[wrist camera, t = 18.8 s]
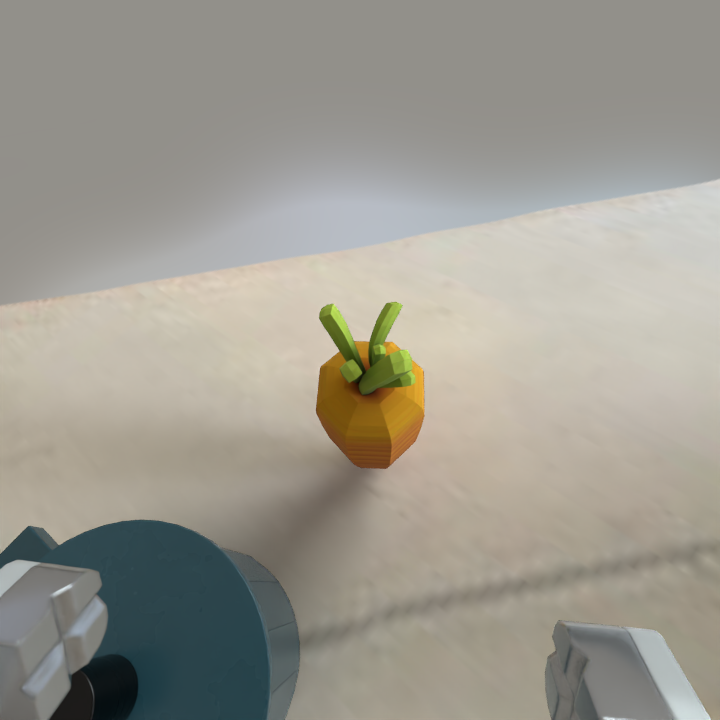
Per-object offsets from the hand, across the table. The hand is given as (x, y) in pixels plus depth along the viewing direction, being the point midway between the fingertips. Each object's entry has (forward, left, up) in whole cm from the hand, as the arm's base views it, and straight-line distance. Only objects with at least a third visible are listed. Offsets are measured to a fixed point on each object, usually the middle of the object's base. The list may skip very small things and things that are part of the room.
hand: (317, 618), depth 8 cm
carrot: (-7, -4, -19) cm, 21 cm away
